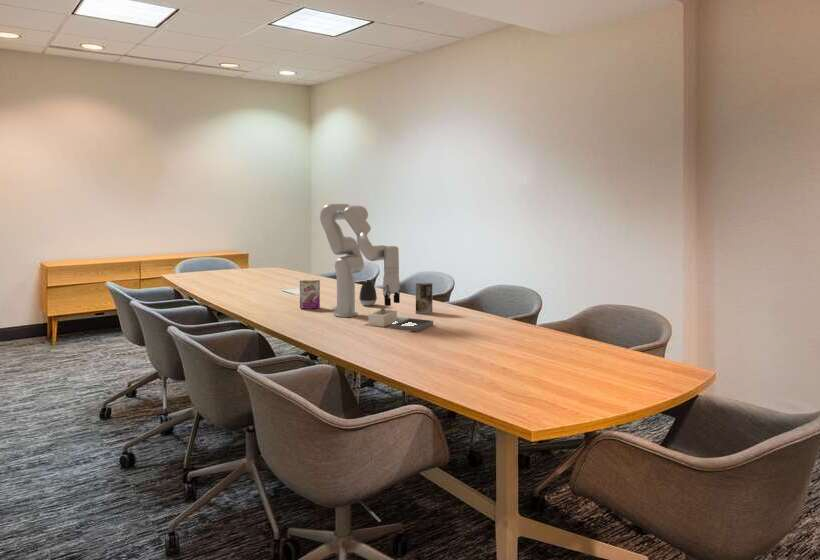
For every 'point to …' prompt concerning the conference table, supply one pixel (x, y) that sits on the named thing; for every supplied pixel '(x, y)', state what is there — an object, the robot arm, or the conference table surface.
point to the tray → (416, 328)
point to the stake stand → (381, 314)
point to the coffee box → (424, 298)
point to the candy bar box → (309, 293)
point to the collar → (382, 318)
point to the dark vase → (367, 293)
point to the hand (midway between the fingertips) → (392, 304)
